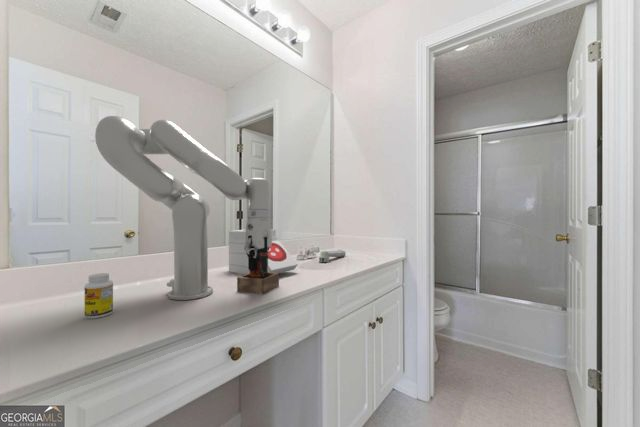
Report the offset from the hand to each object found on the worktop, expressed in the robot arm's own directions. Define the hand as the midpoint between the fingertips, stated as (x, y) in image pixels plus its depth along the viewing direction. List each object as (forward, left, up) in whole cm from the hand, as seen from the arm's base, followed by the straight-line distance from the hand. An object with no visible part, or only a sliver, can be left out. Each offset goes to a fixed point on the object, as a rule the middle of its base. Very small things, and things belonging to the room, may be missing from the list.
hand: (258, 267), depth 91 cm
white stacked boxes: (-13, +24, -7) cm, 28 cm away
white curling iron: (+8, +64, -8) cm, 65 cm away
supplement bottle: (-26, -33, -7) cm, 43 cm away
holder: (0, 0, -7) cm, 7 cm away
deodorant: (0, 0, -5) cm, 5 cm away
